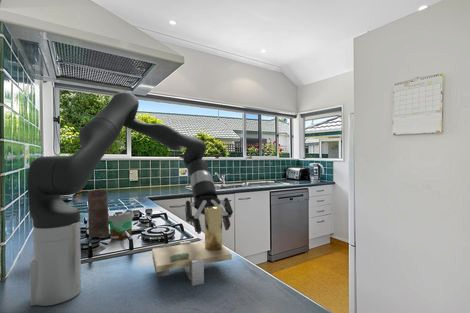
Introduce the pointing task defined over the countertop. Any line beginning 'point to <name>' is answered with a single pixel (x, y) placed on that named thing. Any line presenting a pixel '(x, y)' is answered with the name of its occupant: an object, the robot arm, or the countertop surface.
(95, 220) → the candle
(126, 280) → the countertop surface
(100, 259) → the countertop surface
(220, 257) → the tilting board
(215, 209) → the cylinder
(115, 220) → the food container
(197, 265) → the board stand
